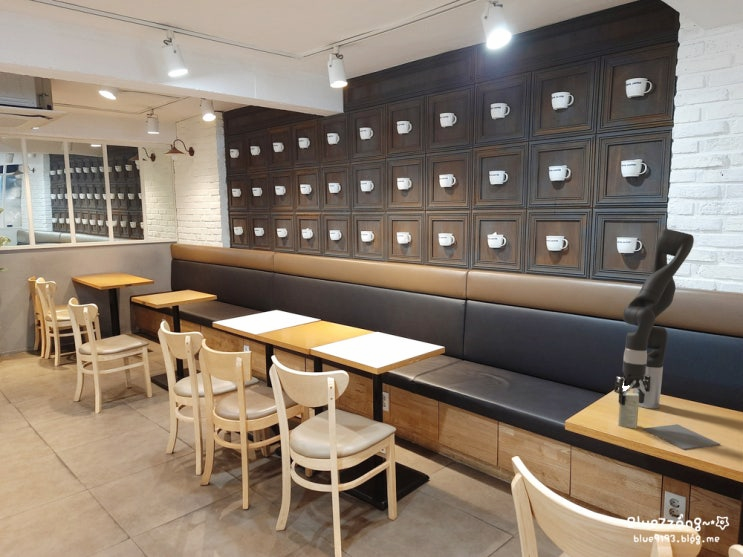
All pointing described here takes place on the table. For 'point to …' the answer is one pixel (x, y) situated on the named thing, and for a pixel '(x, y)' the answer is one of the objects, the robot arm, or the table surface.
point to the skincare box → (629, 411)
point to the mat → (681, 437)
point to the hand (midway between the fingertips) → (631, 403)
